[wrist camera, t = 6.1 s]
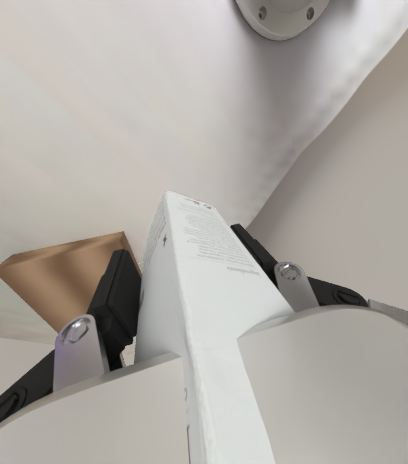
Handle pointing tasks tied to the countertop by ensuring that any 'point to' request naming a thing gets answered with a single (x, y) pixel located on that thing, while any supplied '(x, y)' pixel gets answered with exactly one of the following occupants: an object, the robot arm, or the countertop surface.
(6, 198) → the countertop surface
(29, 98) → the countertop surface
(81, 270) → the walnut board
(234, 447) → the skincare box
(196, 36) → the countertop surface
